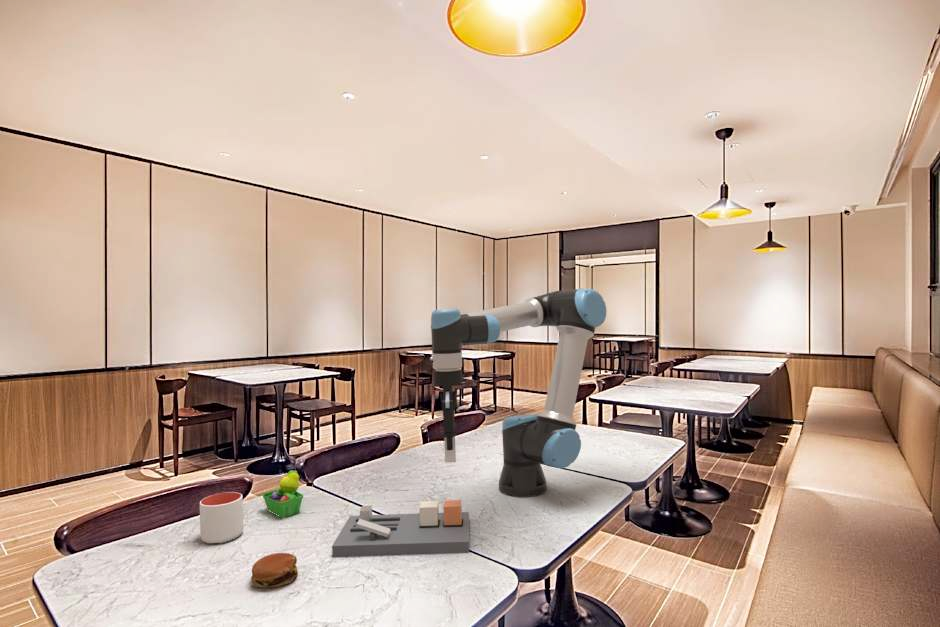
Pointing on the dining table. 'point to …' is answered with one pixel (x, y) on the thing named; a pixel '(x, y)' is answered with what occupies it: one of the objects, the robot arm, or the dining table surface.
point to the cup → (221, 517)
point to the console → (402, 537)
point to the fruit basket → (285, 496)
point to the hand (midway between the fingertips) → (450, 461)
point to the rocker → (373, 527)
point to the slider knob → (366, 513)
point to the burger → (274, 570)
